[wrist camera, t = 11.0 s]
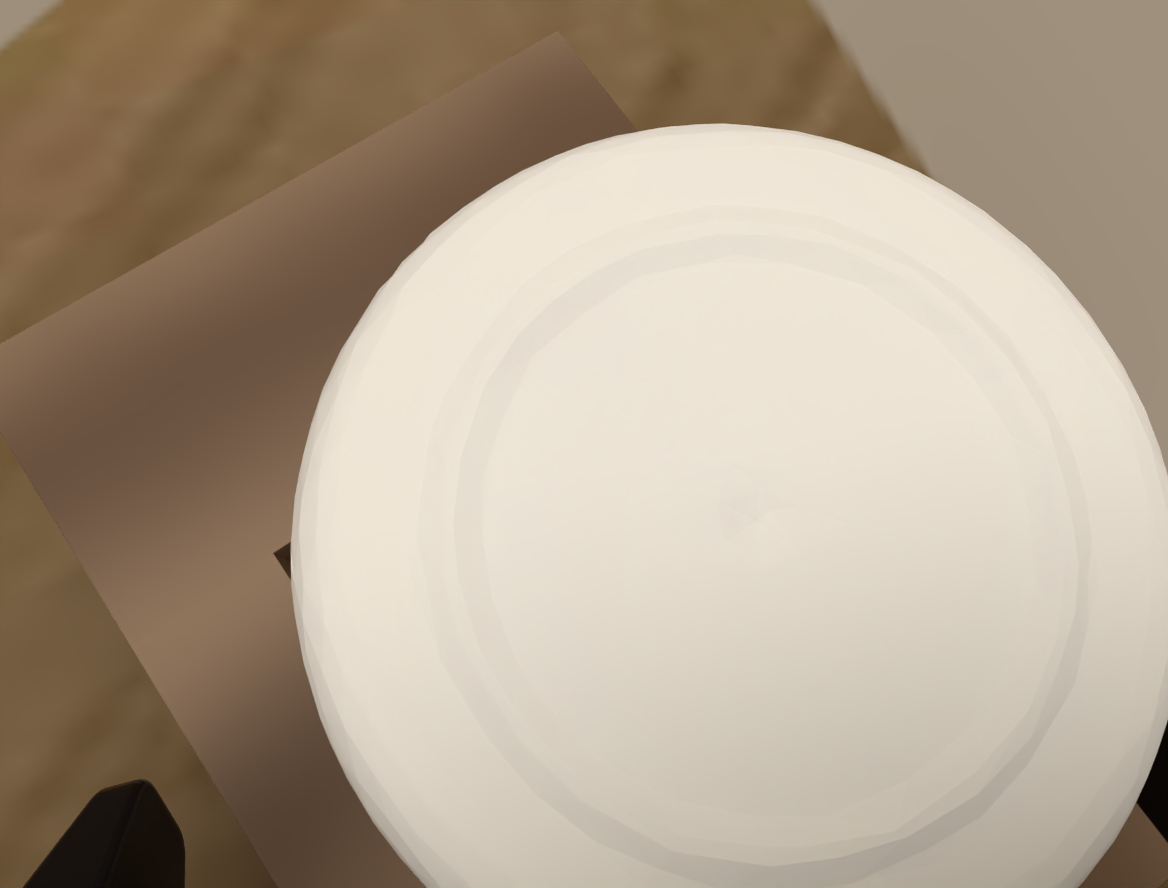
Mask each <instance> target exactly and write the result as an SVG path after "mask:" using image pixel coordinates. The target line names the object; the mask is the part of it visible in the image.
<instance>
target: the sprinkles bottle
mask: <svg viewBox="0 0 1168 888" xmlns="http://www.w3.org/2000/svg"><path fill="white" fill-rule="evenodd" d="M291 589H292V597H293V606H294V614H295V620H296V625H297V630H298V636H299V641H300V647H301V652H302V657H303V663H304V666H305V669H306V673H307V676H308V679H309V683H310V686H311V690H312V693H313V696H314V700H315V703H316V706H317V710H318V713H319V716H320V719H321V722H322V724H323V727H324V729H325V732H326V734H327V737H328V739H329V742H330V744H331V746H332V748H333V750H334V752H335V754H336V757H337V759H338V761H339V763H340V765H341V767H342V769H343V771H344V773H345V776H346V778H347V780H348V781H349V783H350V785H351V786H352V788H353V790H354V791H355V793H356V795H357V796H358V798H359V800H360V801H361V803H362V805H363V806H364V808H365V810H366V811H367V813H368V815H369V816H370V818H371V820H372V821H373V823H374V824H375V826H376V827H377V828H378V830H379V831H380V832H381V833H382V835H383V836H384V837H385V839H386V840H387V841H388V843H389V844H390V845H391V847H392V848H393V849H394V851H395V852H396V853H397V855H398V856H399V857H400V858H401V860H402V861H403V862H404V863H405V864H406V865H407V866H408V867H409V869H410V870H411V871H412V872H413V873H414V874H415V875H416V876H417V878H418V879H419V880H420V881H421V882H422V883H423V884H424V885H425V887H426V888H1078V887H1079V886H1080V885H1081V884H1082V883H1083V882H1084V880H1085V879H1086V878H1087V876H1088V875H1089V874H1090V872H1091V871H1092V870H1093V868H1094V867H1095V866H1096V864H1097V863H1098V862H1099V861H1100V859H1101V858H1102V857H1103V855H1104V854H1105V853H1106V851H1107V850H1108V849H1109V847H1110V846H1111V845H1112V844H1113V842H1114V841H1115V839H1116V837H1117V836H1118V834H1119V832H1120V830H1121V829H1122V827H1123V825H1124V824H1125V822H1126V820H1127V819H1128V817H1129V815H1130V814H1131V812H1132V810H1133V808H1134V806H1135V803H1136V801H1137V799H1138V797H1139V795H1140V793H1141V791H1142V788H1143V786H1144V784H1145V782H1146V780H1147V777H1148V775H1149V772H1150V770H1151V767H1152V765H1153V762H1154V760H1155V757H1156V754H1157V752H1158V749H1159V746H1160V743H1161V740H1162V736H1163V733H1164V730H1165V727H1166V724H1167V721H1168V475H1167V471H1166V468H1165V465H1164V461H1163V458H1162V455H1161V451H1160V448H1159V445H1158V442H1157V439H1156V437H1155V434H1154V432H1153V429H1152V426H1151V424H1150V421H1149V418H1148V416H1147V413H1146V411H1145V408H1144V406H1143V404H1142V403H1141V401H1140V399H1139V397H1138V395H1137V393H1136V391H1135V389H1134V387H1133V385H1132V383H1131V381H1130V379H1129V377H1128V375H1127V373H1126V371H1125V369H1124V367H1123V365H1122V364H1121V362H1120V361H1119V359H1118V358H1117V356H1116V354H1115V353H1114V351H1113V350H1112V348H1111V347H1110V346H1109V344H1108V342H1107V341H1106V339H1105V338H1104V336H1103V335H1102V333H1101V332H1100V330H1099V329H1098V327H1097V325H1096V324H1095V322H1094V321H1093V319H1092V318H1091V316H1090V315H1089V313H1088V312H1087V311H1086V310H1085V309H1084V308H1083V307H1082V305H1081V304H1080V303H1079V302H1078V300H1077V299H1076V298H1075V297H1074V296H1073V294H1072V293H1071V292H1070V291H1069V290H1068V289H1067V287H1066V286H1065V285H1064V284H1063V283H1062V281H1060V279H1059V278H1058V277H1057V275H1056V274H1055V273H1053V271H1052V270H1051V269H1050V268H1048V266H1047V265H1046V264H1045V263H1044V262H1043V261H1042V260H1041V259H1040V258H1039V257H1038V256H1037V255H1036V254H1034V252H1033V251H1031V249H1030V248H1028V246H1026V245H1025V244H1024V243H1023V242H1021V241H1020V240H1019V239H1018V238H1016V237H1015V236H1014V235H1013V234H1011V233H1010V232H1009V231H1008V230H1007V229H1005V228H1004V227H1003V226H1001V225H1000V224H999V223H998V222H997V221H995V220H994V219H993V218H992V217H991V216H989V215H988V214H987V213H986V212H984V211H983V210H981V209H980V208H978V207H977V206H975V205H974V204H972V203H971V202H969V201H968V200H966V199H964V198H963V197H961V196H960V195H958V194H956V193H955V192H953V191H951V190H950V189H948V188H946V187H945V186H943V185H941V184H939V183H938V182H936V181H934V180H932V179H930V178H929V177H927V176H925V175H923V174H921V173H920V172H918V171H915V170H913V169H911V168H908V167H906V166H904V165H901V164H899V163H897V162H894V161H892V160H890V159H888V158H885V157H883V156H881V155H878V154H875V153H873V152H870V151H867V150H864V149H861V148H858V147H855V146H852V145H849V144H846V143H843V142H840V141H836V140H832V139H827V138H823V137H819V136H815V135H810V134H806V133H802V132H798V131H790V130H782V129H774V128H766V127H758V126H749V125H735V124H697V125H687V126H671V127H664V128H657V129H651V130H646V131H640V132H634V133H629V134H623V135H617V136H614V137H610V138H606V139H603V140H599V141H596V142H592V143H588V144H585V145H582V146H580V147H577V148H574V149H572V150H569V151H566V152H564V153H561V154H559V155H556V156H554V157H552V158H549V159H547V160H545V161H543V162H540V163H538V164H536V165H534V166H531V167H529V168H527V169H525V170H522V171H521V172H519V173H517V174H515V175H514V176H512V177H510V178H508V179H507V180H505V181H503V182H502V183H500V184H498V185H496V186H495V187H493V188H492V189H490V190H489V191H487V192H486V193H484V194H483V195H481V196H480V197H478V198H477V199H475V200H474V201H472V202H471V203H469V204H468V205H466V206H465V207H463V208H462V209H461V210H459V211H458V212H457V213H455V214H454V215H453V216H452V217H450V218H449V219H448V220H447V221H445V222H444V223H443V224H442V225H440V226H439V227H438V228H437V229H435V230H434V231H433V232H432V233H430V234H429V236H428V237H427V238H426V240H425V241H424V242H423V243H422V244H421V245H420V246H419V247H418V248H417V249H416V250H415V251H413V252H412V253H411V254H410V255H409V256H408V257H407V258H406V259H405V260H404V261H403V262H402V263H401V264H400V266H399V267H398V268H397V270H396V271H395V273H394V274H393V276H392V277H391V278H390V279H389V280H388V281H387V282H386V283H385V284H384V285H383V286H382V287H381V288H380V289H379V290H378V292H377V293H376V295H375V296H374V298H373V300H372V301H371V303H370V304H369V306H368V308H367V309H366V311H365V312H364V314H363V316H362V317H361V319H360V320H359V322H358V324H357V325H356V327H355V328H354V330H353V332H352V333H351V335H350V336H349V338H348V340H347V341H346V343H345V344H344V346H343V348H342V349H341V351H340V353H339V355H338V357H337V359H336V362H335V364H334V366H333V368H332V370H331V372H330V374H329V377H328V379H327V381H326V383H325V385H324V387H323V389H322V392H321V395H320V399H319V402H318V405H317V408H316V411H315V414H314V417H313V420H312V423H311V426H310V430H309V434H308V438H307V442H306V446H305V450H304V454H303V458H302V463H301V467H300V472H299V477H298V482H297V488H296V493H295V500H294V512H293V524H292V536H291Z"/></svg>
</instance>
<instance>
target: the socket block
mask: <svg viewBox="0 0 1168 888" xmlns="http://www.w3.org/2000/svg"><path fill="white" fill-rule="evenodd" d="M634 132H638V131H637V130H636V129H635V128H634V126H633V125H632V124H631V123H630V121H629V120H628V119H627V117H626V116H625V115H624V114H623V112H622V111H621V110H620V109H619V107H618V106H617V105H616V103H615V102H614V101H613V100H612V98H611V97H610V96H609V95H608V93H607V92H606V91H605V89H604V88H603V87H602V86H601V84H600V83H599V82H598V81H597V79H596V78H595V77H594V75H593V74H592V73H591V72H590V70H589V69H588V68H587V67H586V65H585V64H584V63H583V61H582V60H581V59H580V58H579V56H578V55H577V54H576V53H575V51H574V50H573V49H572V47H571V46H570V45H569V44H568V42H567V41H566V40H565V39H564V37H563V36H562V35H561V33H560V32H559V31H556V32H554V33H553V34H551V35H549V36H547V37H545V38H544V39H542V40H540V41H538V42H537V43H535V44H533V45H531V46H529V47H528V48H526V49H524V50H522V51H521V52H519V53H517V54H515V55H513V56H512V57H510V58H508V59H506V60H505V61H503V62H501V63H499V64H497V65H496V66H494V67H492V68H490V69H489V70H487V71H485V72H483V73H481V74H480V75H478V76H476V77H474V78H472V79H471V80H469V81H467V82H465V83H464V84H462V85H460V86H458V87H456V88H455V89H453V90H451V91H449V92H448V93H446V94H444V95H442V96H440V97H439V98H437V99H435V100H433V101H432V102H430V103H428V104H426V105H424V106H423V107H421V108H419V109H417V110H416V111H414V112H412V113H410V114H408V115H407V116H405V117H403V118H401V119H400V120H398V121H396V122H394V123H392V124H391V125H389V126H387V127H385V128H383V129H382V130H380V131H378V132H376V133H375V134H373V135H371V136H369V137H367V138H366V139H364V140H362V141H360V142H359V143H357V144H355V145H353V146H351V147H350V148H348V149H346V150H344V151H343V152H341V153H339V154H337V155H335V156H334V157H332V158H330V159H328V160H327V161H325V162H323V163H321V164H319V165H318V166H316V167H314V168H312V169H311V170H309V171H307V172H305V173H303V174H302V175H300V176H298V177H296V178H294V179H293V180H291V181H289V182H287V183H286V184H284V185H282V186H280V187H278V188H277V189H275V190H273V191H271V192H270V193H268V194H266V195H264V196H262V197H261V198H259V199H257V200H255V201H254V202H252V203H250V204H248V205H246V206H245V207H243V208H241V209H239V210H238V211H236V212H234V213H232V214H230V215H229V216H227V217H225V218H223V219H222V220H220V221H218V222H216V223H214V224H213V225H211V226H209V227H207V228H206V229H204V230H202V231H200V232H198V233H197V234H195V235H193V236H191V237H189V238H188V239H186V240H184V241H182V242H181V243H179V244H177V245H175V246H173V247H172V248H170V249H168V250H166V251H165V252H163V253H161V254H159V255H157V256H156V257H154V258H152V259H150V260H149V261H147V262H145V263H143V264H141V265H140V266H138V267H136V268H134V269H133V270H131V271H129V272H127V273H125V274H124V275H122V276H120V277H118V278H117V279H115V280H113V281H111V282H109V283H108V284H106V285H104V286H102V287H100V288H99V289H97V290H95V291H93V292H92V293H90V294H88V295H86V296H84V297H83V298H81V299H79V300H77V301H76V302H74V303H72V304H70V305H68V306H67V307H65V308H63V309H61V310H60V311H58V312H56V313H54V314H52V315H51V316H49V317H47V318H45V319H44V320H42V321H40V322H38V323H36V324H35V325H33V326H31V327H29V328H28V329H26V330H24V331H22V332H20V333H19V334H17V335H15V336H13V337H12V338H10V339H8V340H6V341H4V342H3V343H1V344H0V432H1V434H2V435H3V437H4V439H5V440H6V442H7V444H8V445H9V447H10V448H11V450H12V452H13V453H14V455H15V457H16V458H17V460H18V462H19V463H20V465H21V467H22V468H23V470H24V471H25V473H26V475H27V476H28V478H29V480H30V481H31V483H32V485H33V486H34V488H35V490H36V491H37V493H38V495H39V496H40V498H41V499H42V501H43V503H44V504H45V506H46V508H47V509H48V511H49V513H50V514H51V516H52V518H53V519H54V521H55V522H56V524H57V526H58V527H59V529H60V531H61V532H62V534H63V536H64V537H65V539H66V541H67V542H68V544H69V545H70V547H71V549H72V550H73V552H74V554H75V555H76V557H77V559H78V560H79V562H80V564H81V565H82V567H83V569H84V570H85V572H86V573H87V575H88V577H89V578H90V580H91V582H92V583H93V585H94V587H95V588H96V590H97V592H98V593H99V595H100V596H101V598H102V600H103V601H104V603H105V605H106V606H107V608H108V610H109V611H110V613H111V615H112V616H113V618H114V619H115V621H116V623H117V624H118V626H119V628H120V629H121V631H122V633H123V634H124V636H125V638H126V639H127V641H128V643H129V644H130V646H131V647H132V649H133V651H134V652H135V654H136V656H137V657H138V659H139V661H140V662H141V664H142V666H143V667H144V669H145V670H146V672H147V674H148V675H149V677H150V679H151V680H152V682H153V684H154V685H155V687H156V689H157V690H158V692H159V693H160V695H161V697H162V698H163V700H164V702H165V703H166V705H167V707H168V708H169V710H170V712H171V713H172V715H173V716H174V718H175V720H176V721H177V723H178V725H179V726H180V728H181V730H182V731H183V733H184V735H185V736H186V738H187V740H188V741H189V743H190V744H191V746H192V748H193V749H194V751H195V753H196V754H197V756H198V758H199V759H200V761H201V763H202V764H203V766H204V767H205V769H206V771H207V772H208V774H209V776H210V777H211V779H212V781H213V782H214V784H215V786H216V787H217V789H218V790H219V792H220V794H221V795H222V797H223V799H224V800H225V802H226V804H227V805H228V807H229V809H230V810H231V812H232V814H233V815H234V817H235V818H236V820H237V822H238V823H239V825H240V827H241V828H242V830H243V832H244V833H245V835H246V837H247V838H248V840H249V841H250V843H251V845H252V846H253V848H254V850H255V851H256V853H257V855H258V856H259V858H260V860H261V861H262V863H263V864H264V866H265V868H266V869H267V871H268V873H269V874H270V876H271V878H272V879H273V881H274V883H275V884H276V886H277V887H278V888H426V887H425V885H424V884H423V883H422V882H421V881H420V880H419V879H418V878H417V876H416V875H415V874H414V873H413V872H412V871H411V870H410V869H409V867H408V866H407V865H406V864H405V863H404V862H403V861H402V860H401V858H400V857H399V856H398V855H397V853H396V852H395V851H394V849H393V848H392V847H391V845H390V844H389V843H388V841H387V840H386V839H385V837H384V836H383V835H382V833H381V832H380V831H379V830H378V828H377V827H376V826H375V824H374V823H373V821H372V820H371V818H370V816H369V815H368V813H367V811H366V810H365V808H364V806H363V805H362V803H361V801H360V800H359V798H358V796H357V795H356V793H355V791H354V790H353V788H352V786H351V785H350V783H349V781H348V780H347V778H346V776H345V773H344V771H343V769H342V767H341V765H340V763H339V761H338V759H337V757H336V754H335V752H334V750H333V748H332V746H331V744H330V742H329V739H328V737H327V734H326V732H325V729H324V727H323V724H322V722H321V719H320V716H319V713H318V710H317V706H316V703H315V700H314V696H313V693H312V690H311V686H310V683H309V679H308V676H307V673H306V669H305V666H304V663H303V657H302V652H301V647H300V641H299V636H298V630H297V625H296V620H295V614H294V606H293V597H292V589H291V536H292V524H293V512H294V500H295V493H296V488H297V482H298V477H299V472H300V467H301V463H302V458H303V454H304V450H305V446H306V442H307V438H308V434H309V430H310V426H311V423H312V420H313V417H314V414H315V411H316V408H317V405H318V402H319V399H320V395H321V392H322V389H323V387H324V385H325V383H326V381H327V379H328V377H329V374H330V372H331V370H332V368H333V366H334V364H335V362H336V359H337V357H338V355H339V353H340V351H341V349H342V348H343V346H344V344H345V343H346V341H347V340H348V338H349V336H350V335H351V333H352V332H353V330H354V328H355V327H356V325H357V324H358V322H359V320H360V319H361V317H362V316H363V314H364V312H365V311H366V309H367V308H368V306H369V304H370V303H371V301H372V300H373V298H374V296H375V295H376V293H377V292H378V290H379V289H380V288H381V287H382V286H383V285H384V284H385V283H386V282H387V281H388V280H389V279H390V278H391V277H392V276H393V274H394V273H395V271H396V270H397V268H398V267H399V266H400V264H401V263H402V262H403V261H404V260H405V259H406V258H407V257H408V256H409V255H410V254H411V253H412V252H413V251H415V250H416V249H417V248H418V247H419V246H420V245H421V244H422V243H423V242H424V241H425V240H426V238H427V237H428V236H429V234H430V233H432V232H433V231H434V230H435V229H437V228H438V227H439V226H440V225H442V224H443V223H444V222H445V221H447V220H448V219H449V218H450V217H452V216H453V215H454V214H455V213H457V212H458V211H459V210H461V209H462V208H463V207H465V206H466V205H468V204H469V203H471V202H472V201H474V200H475V199H477V198H478V197H480V196H481V195H483V194H484V193H486V192H487V191H489V190H490V189H492V188H493V187H495V186H496V185H498V184H500V183H502V182H503V181H505V180H507V179H508V178H510V177H512V176H514V175H515V174H517V173H519V172H521V171H522V170H525V169H527V168H529V167H531V166H534V165H536V164H538V163H540V162H543V161H545V160H547V159H549V158H552V157H554V156H556V155H559V154H561V153H564V152H566V151H569V150H572V149H574V148H577V147H580V146H582V145H585V144H588V143H592V142H596V141H599V140H603V139H606V138H610V137H614V136H617V135H623V134H629V133H634ZM1167 879H1168V843H1167V842H1166V840H1165V839H1164V838H1163V837H1162V835H1161V834H1160V833H1159V831H1158V830H1157V829H1156V827H1155V826H1154V825H1153V824H1152V822H1151V821H1150V820H1149V818H1148V817H1147V816H1146V815H1145V813H1144V812H1143V811H1142V809H1141V808H1140V807H1139V806H1138V804H1137V803H1135V806H1134V808H1133V810H1132V812H1131V814H1130V815H1129V817H1128V819H1127V820H1126V822H1125V824H1124V825H1123V827H1122V829H1121V830H1120V832H1119V834H1118V836H1117V837H1116V839H1115V841H1114V842H1113V844H1112V845H1111V846H1110V847H1109V849H1108V850H1107V851H1106V853H1105V854H1104V855H1103V857H1102V858H1101V859H1100V861H1099V862H1098V863H1097V864H1096V866H1095V867H1094V868H1093V870H1092V871H1091V872H1090V874H1089V875H1088V876H1087V878H1086V879H1085V880H1084V882H1083V883H1082V884H1081V885H1080V886H1079V887H1078V888H1159V887H1160V886H1161V885H1162V884H1163V883H1164V882H1165V881H1166V880H1167Z"/></svg>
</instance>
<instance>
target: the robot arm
mask: <svg viewBox="0 0 1168 888" xmlns="http://www.w3.org/2000/svg"><path fill="white" fill-rule="evenodd" d="M1136 803H1137V804H1138V806H1139V807H1140V808H1141V809H1142V811H1143V812H1144V813H1145V815H1146V816H1147V817H1148V818H1149V820H1150V821H1151V822H1152V824H1153V825H1154V826H1155V827H1156V829H1157V830H1158V831H1159V833H1160V834H1161V835H1162V837H1163V838H1164V839H1165V840H1166V842H1167V843H1168V721H1167V724H1166V727H1165V730H1164V733H1163V736H1162V740H1161V743H1160V746H1159V749H1158V752H1157V754H1156V757H1155V760H1154V762H1153V765H1152V767H1151V770H1150V772H1149V775H1148V777H1147V780H1146V782H1145V784H1144V786H1143V788H1142V791H1141V793H1140V795H1139V797H1138V799H1137V801H1136ZM23 888H185V846H184V840H183V836H182V833H181V831H180V828H179V826H178V825H177V823H176V821H175V820H174V818H173V817H172V815H171V813H170V812H169V810H168V808H167V807H166V805H165V803H164V802H163V800H162V798H161V797H160V795H159V793H158V792H157V790H156V789H155V787H154V786H153V785H152V783H151V782H149V781H147V780H145V779H138V780H134V781H130V782H126V783H123V784H119V785H115V786H111V787H108V788H105V789H102V790H101V791H99V792H98V793H97V794H96V795H94V796H93V798H92V799H91V800H90V801H89V802H88V804H87V805H86V806H85V808H84V809H83V810H82V811H81V813H80V814H79V815H78V817H77V818H76V819H75V821H74V822H73V823H72V824H71V826H70V827H69V828H68V830H67V831H66V832H65V833H64V835H63V836H62V837H61V839H60V840H59V841H58V843H57V844H56V845H55V846H54V848H53V849H52V850H51V852H50V853H49V854H48V855H47V857H46V858H45V859H44V861H43V862H42V863H41V865H40V866H39V867H38V868H37V870H36V871H35V872H34V874H33V875H32V876H31V877H30V879H29V880H28V881H27V883H26V884H25V885H24V887H23Z"/></svg>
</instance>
